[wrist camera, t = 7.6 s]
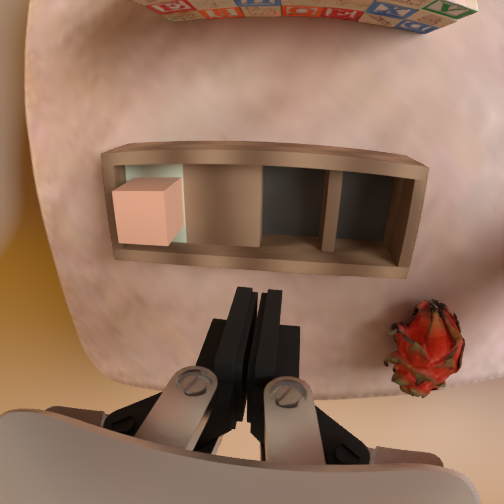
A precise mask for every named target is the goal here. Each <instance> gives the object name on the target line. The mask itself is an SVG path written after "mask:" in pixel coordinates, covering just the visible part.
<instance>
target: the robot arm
mask: <svg viewBox="0 0 504 504" xmlns="http://www.w3.org/2000/svg"><path fill="white" fill-rule="evenodd" d="M257 301H258V292H253V290H252V288H247V287H237V290H236V293H235V296H234V299H233V303H232V306H231V309H230V312H229V315H228V318H227V320H223V319H213V320H212V323H211V325H210V328H209V331H208V333H207V336H206V339H205V341H204V344H203V347H202V350H201V352H200V355H199V358H198V360H197V363H196V366H189V367H186V368H183V369H181V370H179V371H178V372H176V373H175V375H174V376H173V377H172V379H171V380H170V382H169V383H168V385H167V386H166V388H165V389H164V391H163V392H160V393H158V394H156V395H153V396H151V397H149V398H146V399H144V400H141V401H139V402H136V403H134V404H132V405H129V406H127V407H124V408H121V409H119V410H116V411H114V412H113V413H111V414H110V415H108V414H105V412H104V411H94V410H86V409H77V408H69V407H62V406H53V407H50V408H48V409H46V410H39V409H14V410H9V411H6V412H4V413H3V414H1V415H0V504H482V503H481V500H480V498H479V495H478V492H477V490H476V488H475V486H474V485H473V483H472V482H471V481H470V479H469V478H468V477H466V476H465V475H463V474H461V473H459V472H457V471H454V470H452V469H448V468H444V467H443V463H442V461H441V460H440V458H439V457H437V456H436V455H434V454H431V453H426V452H417V451H408V450H400V449H392V448H385V447H379V446H377V447H376V448H375V449H373V448H367V447H366V446H365V445H364V444H363V443H362V442H361V441H360V440H358V439H357V438H356V437H355V436H353V435H352V434H351V433H349V432H348V431H347V430H346V429H344V428H343V427H342V426H340V425H339V424H338V423H337V422H335V421H334V420H333V419H332V418H330V417H329V416H328V415H326V414H325V413H324V412H323V411H322V410H320V409H319V408H318V407H317V406H315V405H314V399H313V394H312V391H311V388H310V387H309V385H308V384H307V383H306V382H304V381H303V380H301V379H299V357H300V326H288V325H280V314H281V302H282V290H271V289H268V292H267V293H262V295H261V300H260V305H259V311H258V316H257ZM246 400H247V422H249V423H251V433H252V434H253V435H254V436H255V437H256V438H257V440H259V442H260V461H256V460H247V459H239V458H232V457H225V456H218V455H216V452H217V450H218V447H219V445H220V443H221V441H222V435H224V434H225V433H227V432H229V431H231V430H232V429H235V427H236V422H237V421H241V422H242V421H243V416H244V411H245V405H246Z"/></svg>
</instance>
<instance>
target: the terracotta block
mask: <svg viewBox="0 0 504 504" xmlns="http://www.w3.org/2000/svg"><path fill="white" fill-rule="evenodd" d="M112 196H113V205H114V213H115V220H116V227H117V234H118V241H119V243H126V244H141V245H156V246H169V244H170V243H171V242H172V240H173V239H174V238H175V236H176V235H177V234H178V233H179V231H180V230H181V229H182V227H183V226H184V214H183V196H182V177H135V178H134V179H132V180H130V181H128V182H127V183H125V184H123V185H122V186H120V187H118V188H116V189H115V190H113V191H112Z"/></svg>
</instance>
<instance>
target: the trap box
mask: <svg viewBox="0 0 504 504" xmlns="http://www.w3.org/2000/svg"><path fill="white" fill-rule="evenodd" d="M101 159H102V170H103V180H104V189H105V197H106V205H107V213H108V220H109V227H110V233H111V239H112V245H113V251H114V257H115V260H127V261H139V262H152V263H164V264H177V265H190V266H204V267H218V268H232V269H246V270H261V271H276V272H292V273H309V274H326V275H343V276H362V277H381V278H401V279H406V278H407V274H408V270H409V266H410V262H411V258H412V254H413V250H414V246H415V241H416V237H417V232H418V227H419V223H420V218H421V213H422V207H423V202H424V196H425V190H426V184H427V178H428V171H429V167H427V166H425V165H423V164H421V163H419V162H418V161H416V160H414V159H412V158H410V157H408V156H406V155H399V154H392V153H385V152H378V151H370V150H361V149H352V148H343V147H332V146H321V145H308V144H293V143H275V142H249V141H175V142H149V143H131V144H127V145H124V146H121V147H118V148H115V149H112V150H109V151H107V152H104V153H101ZM135 177H182V196H183V214H184V226H183V227H182V229H181V230H180V231H179V233H178V234H177V235H176V236H175V238H174V239H173V240H172V242H171V243H170V244H169V246H156V245H141V244H126V243H119V241H118V234H117V227H116V220H115V213H114V205H113V196H112V191H113V190H115V189H116V188H118V187H120V186H122V185H123V184H125V183H127V182H128V181H130V180H132V179H134V178H135Z"/></svg>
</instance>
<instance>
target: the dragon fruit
mask: <svg viewBox="0 0 504 504" xmlns="http://www.w3.org/2000/svg"><path fill="white" fill-rule="evenodd" d="M432 302H433V303H431V302H430V301H428V300H424V301H423V302H422V303H420V304H419V305H418V306H416V307H415V309H414V310H413V312H412V315H411V317H412V316H413V315H416V314H417V312H418V311H419V312H418V315H417V317H416V319H415V320H414V321H413V322H412V323H411V325H410V326H409V327H407V326H405V325H404V324H403V323H402V322H400V323H395V324H392V325H391V326H390V328H389V331H388V333H387V336H392V335H393V338H394V341H395V342H396V343H397V345H398V349H399V350H398V351H396V352H393V353H390V354H388V355H387V356H386V357H385V360H384V365H385V366H387V367H388V363H387V362H391V363H393V364H394V367H393V372H394V374H393V376H392V380H391V381H393V382H395V383H397V384H399V385H400V389H401V391H403V392H405V393H406V394H410V395H411V396H418V397H419V396H422V398H424V397H426V396H427V395H428V394H429V393H430V391H431V390H438V389H439V388H440V387H444V386H446V384H445V380H446V379H447V378H448V377H449V376H450V375H451V374H453V373H456V372H458V371H459V369H460V367H461V364H462V356H463V351H464V347H465V340H464V338H463V337H462V335H461V330H460V326H459V321H458V320H457V316H456V314H455V313H454V315H452V313H451V312H449V310H448V308H447V306H446V305H445V304H443V303H439V302H438V301H437V300H434V299H432ZM434 304H435V305H437V306H438V308H435V306H434ZM429 306H430V307H429ZM414 312H415V313H414Z"/></svg>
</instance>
